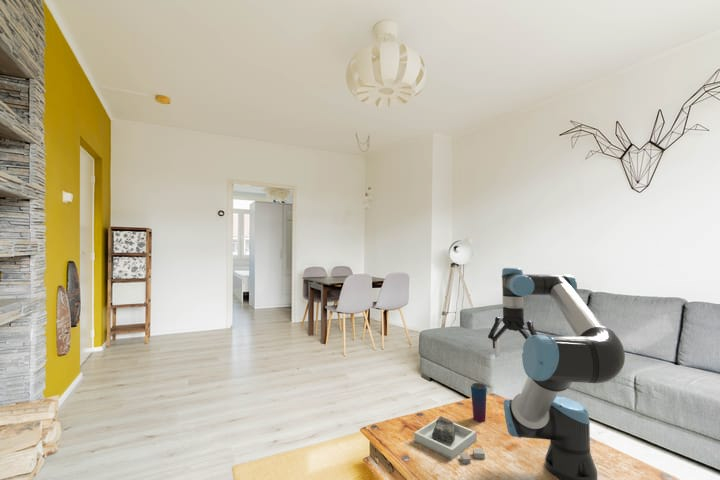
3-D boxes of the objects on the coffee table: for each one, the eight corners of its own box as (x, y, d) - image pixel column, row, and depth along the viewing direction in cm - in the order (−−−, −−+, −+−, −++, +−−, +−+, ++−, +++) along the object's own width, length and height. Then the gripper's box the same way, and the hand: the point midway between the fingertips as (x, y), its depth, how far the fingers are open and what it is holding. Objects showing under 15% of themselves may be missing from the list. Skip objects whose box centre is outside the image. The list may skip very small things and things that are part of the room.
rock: (453, 447, 129) (453, 430, 129) (430, 444, 132) (430, 426, 132) (455, 430, 142) (455, 414, 142) (434, 427, 145) (434, 411, 145)
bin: (476, 440, 136) (476, 431, 136) (452, 460, 123) (452, 450, 123) (439, 425, 148) (439, 417, 148) (414, 441, 135) (414, 432, 136)
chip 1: (470, 464, 121) (470, 458, 121) (463, 464, 121) (463, 459, 121) (467, 458, 124) (467, 453, 124) (460, 458, 124) (460, 453, 124)
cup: (471, 422, 151) (470, 387, 151) (471, 415, 157) (470, 381, 158) (488, 424, 149) (487, 389, 149) (487, 416, 155) (486, 383, 156)
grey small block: (482, 454, 127) (482, 449, 127) (484, 459, 124) (484, 453, 124) (472, 454, 127) (472, 448, 127) (474, 458, 124) (474, 453, 124)
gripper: (550, 309, 130) (552, 365, 129) (487, 302, 148) (488, 352, 147) (543, 311, 125) (545, 370, 124) (479, 304, 143) (480, 355, 142)
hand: (514, 360), depth 135 cm, fingers open, 13 cm apart
